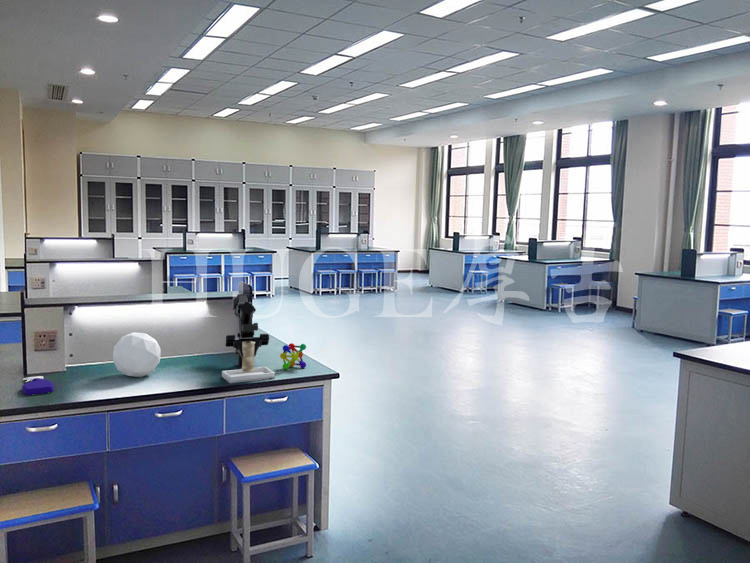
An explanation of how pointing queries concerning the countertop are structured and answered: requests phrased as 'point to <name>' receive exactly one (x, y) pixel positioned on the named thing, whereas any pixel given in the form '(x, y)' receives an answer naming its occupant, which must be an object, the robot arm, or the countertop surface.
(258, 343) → the robot arm
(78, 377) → the countertop surface
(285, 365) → the molecular model
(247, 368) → the maple post
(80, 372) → the countertop surface
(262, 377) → the grey tray
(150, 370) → the geometric polyhedron
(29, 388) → the spray bottle
